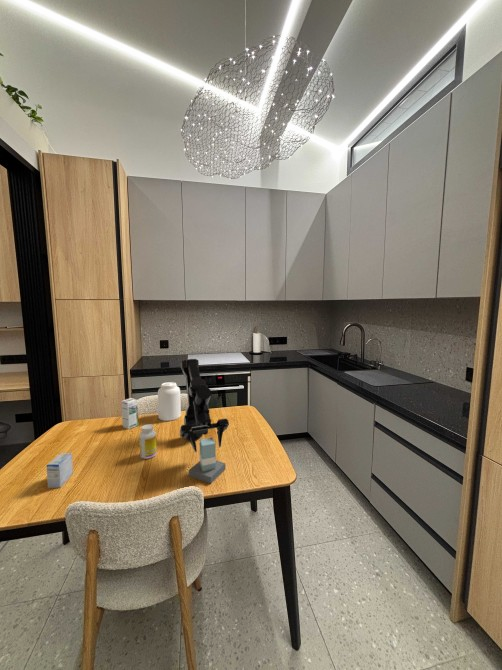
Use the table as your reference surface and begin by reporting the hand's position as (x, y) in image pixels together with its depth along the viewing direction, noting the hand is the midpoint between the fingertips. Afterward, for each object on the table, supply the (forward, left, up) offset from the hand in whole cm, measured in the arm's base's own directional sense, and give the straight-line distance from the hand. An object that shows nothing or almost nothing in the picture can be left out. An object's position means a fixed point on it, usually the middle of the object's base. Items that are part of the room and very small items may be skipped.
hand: (208, 449), depth 103 cm
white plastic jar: (-52, +36, -10) cm, 64 cm away
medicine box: (-46, -27, -10) cm, 54 cm away
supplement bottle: (-31, 0, -10) cm, 33 cm away
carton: (-1, +1, -8) cm, 8 cm away
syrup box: (-62, +17, -10) cm, 65 cm away
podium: (-1, +1, -10) cm, 10 cm away
